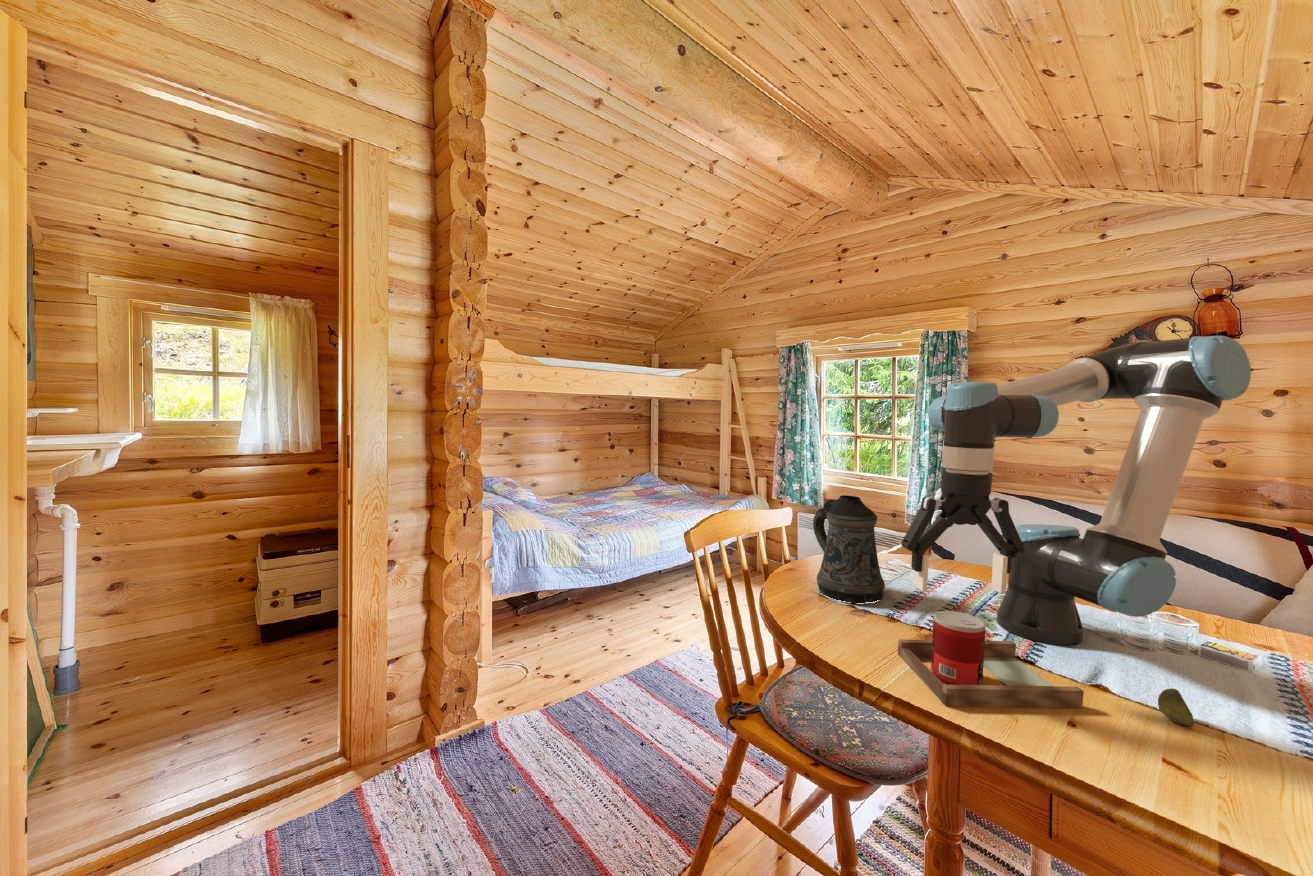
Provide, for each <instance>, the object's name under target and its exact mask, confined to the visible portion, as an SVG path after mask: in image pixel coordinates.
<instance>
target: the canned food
mask: <svg viewBox="0 0 1313 876" xmlns="http://www.w3.org/2000/svg"><path fill="white" fill-rule="evenodd" d="M932 618H933V620H932V621H933V623H932V636H931V637H932V639H931V640H932V658H931V659H930V660H931V662H930V663H931V664H930V665H931V666H930V668H931V669H930V671H931V672H932V673H933V674H934V675H935V676H936V677H937V678H938V679H939V680H940V681H941V682H942V683H943V684H944V685H982V683H983V680H984V667H983V665H984V649H985V641H986V623H985V622H984V621H983V620H982V619H980V618H979V617H976V616H974V615H972V614H968V613H965V612H960V611H955V610H940V611H936V612H934V614H933V617H932Z"/></svg>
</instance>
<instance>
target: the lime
mask: <svg viewBox="0 0 1313 876" xmlns="http://www.w3.org/2000/svg"><path fill="white" fill-rule="evenodd" d="M1157 705H1158V709H1159V711H1160V712H1161V714H1163V715H1164V717H1166V718H1168V719H1169V720H1171V721H1172V722H1175V723H1177V724H1178V723H1179V725H1181V724H1182V725H1181V726H1184V725H1186V726H1185V727H1193V726H1195V720H1194V716H1193V714H1192V712H1191V710H1190V709H1189V707H1188V704H1187V703H1186V701H1185V700H1184V698H1183V696H1182V694H1181V692H1180V691H1179V690H1178V689H1177V688H1167V689H1164V690H1162V691H1161V692H1160V694H1159V695H1158V699H1157Z"/></svg>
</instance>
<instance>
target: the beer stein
mask: <svg viewBox="0 0 1313 876" xmlns="http://www.w3.org/2000/svg"><path fill="white" fill-rule="evenodd" d="M826 520H827V522H828V530H827V533H826V529H825V521H826ZM877 521H878V516H877V515H876V513H875V512H874V511H873V510H872V509H871V508H870V507H868V506H866V505H865V504H864V502H863V501H862V500H861V498H860V497H859V496H855V495H844V494H843V495H839V497H838V498H837V499H827V500H826V501H825V502H824V503H823V508H819V509H818V510H817V511H816V512H815V515H814V517H813V521H812V528H813V533H814V535H815V539H816V541H817V543H818V545H819V547H820V548H821V549H822V551H823V556H822V561H821V563H820V564H821V565H820V568H819V571H818V572H817V575H816V583H817V587H819V588H818V591H820V592H821V593H822V594H823V595H822V594H821V593H820V592H819V593H820V594H821V595H822V596H824V595H826V596H828V597H830V598H833V599H836V600H841V601H846V602H851V603H865V602H873V601H874V602H875V601H877V600H881V599H882V598H883V597H884V590H885V587H886V584H885V581H884V579H883V577H882V574H881V569H880V564H879V558H878V551H877V544H876V535H875V526H876V524H877ZM826 596H825V597H826ZM830 598H829V599H830ZM833 599H832V600H833ZM836 600H835V601H836ZM881 601H882V600H881Z"/></svg>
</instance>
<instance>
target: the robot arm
mask: <svg viewBox="0 0 1313 876" xmlns="http://www.w3.org/2000/svg"><path fill="white" fill-rule="evenodd" d="M1251 370H1252V369H1251V362H1250V358H1249V357H1248V354H1247V352H1246V350H1245V349H1244V348H1243V345H1241V344H1240V343H1239V342H1238V341H1237V340H1235V339H1233V338H1231V337H1228V336H1226V335H1210V336H1209V335H1208V336H1202V335H1196V336H1192V337H1187V338H1186V337H1185V338H1177V339H1165V340H1155V341H1146V342H1145V341H1143V342H1132V343H1127V344H1123V345H1120V346H1116V347H1112V348H1109V349H1106V350H1103V351H1099V352H1096V353H1092V354H1089V355H1086V356H1082V357H1079V358H1075V359H1073V360H1071V361H1070V362H1068V363H1067V364H1066V365H1065V366H1063V367H1060V368H1055V369H1052V370H1047V371H1046V372H1041V373H1038V374H1034V375H1031V376H1026V377H1023V378H1020V379H1015V380H1011V381H1007V382H1004V383H1000V384H997V383H995V382H986V381H964V382H961V381H960V382H953V383H951V384H950V385H948V387H947V389H946V395H943V396H939V397H936V398H935V399H934V400H933V401H932V402H931V403H930V405H929V407H928V412H927V413H928V421H929V424H930V425H931V426H932V427H933V428H934V429H935V430H937V431H941V432H943V446H942V447H943V449H942V464H941V466H942V468H944V470H942V472H941V480H940V491H941V496H940V498H939V499H938V498H937V499H936V498H932V497H928V496H923V497H922V499H921V505H920V509H919V511H918V512H917V514H916V515H915V518H914V520H913V521H912V523H911V525H910V527H909V528H908V530H907V532H906V533H905V535H904V537H903V539H902V540H901V543H900V545H901V547H903V548H904V549H906V550H908V551H910V552H911V569H912V571H915V579H914V582H915V583H914V586H915V588H916V589H918V590H919V591H921V592H923V593H927V592H928V577H929V576H928V575H929V574H928V573H929V562H930V561H929V559H930V558H929V557H930V555H929V554H927V553H926V552H927V551H928V550H929V549H930V547H932V545H933V544H934V543H935V542H936V541H937V540H938V539H939V538H940V537H941V536H942V535H943V534H944V532H946V530H947V529H949V528H951V527H952V526H953V525H954V524H955V525H956V526H957V525H959V526H964V525H970V526H976V525H977V526H978V527H979V529H981V531H982V532H983V533H984V535H985V536H986V537H987V538H988V539H989V541H990V542H991V543H992V545H993V546H994V547H995V549H997V551H998V552H996V551H995V552H992V568H991V569H992V570H991V585H990V589H992V590H994V591H996V592H998V593H999V594H1002V595H1003V594H1004V596H1003V598H1002V601H1001V602H1000V606H998V609H997V610H996V623H997V624H998V625H999V626H1000V627H1001V628H1003V629H1005V630H1006V631H1008V632H1010V633H1012V634H1014V635H1016V636H1019V637H1022V638H1025V639H1027V640H1032V641H1035V642H1040V643H1044V644H1049V645H1050V644H1051V645H1060V646H1073V645H1079V644H1080V643H1082V642H1083V641H1084V627H1083V624H1082V620H1081V617H1080V614H1079V610H1078V607H1077V604H1076V598H1078V599H1080V600H1083V601H1086V602H1088V603H1091V604H1094V605H1096V606H1099V607H1101V608H1103V609H1105V610H1107V611H1110V612H1115V613H1116V612H1117V613H1119V614H1123V615H1125V616H1129V617H1134V618H1135V617H1136V618H1137V617H1138V618H1139V617H1146V616H1149V615H1152V614H1153V613H1155V612H1158V611H1159V610H1161V609H1162V608H1163V607H1164V606H1165V605H1166V604H1167V603H1168V602H1169V600H1170V598H1172V596H1173V593H1174V592H1175V588H1176V585H1177V578H1176V577H1175V576H1176V570H1175V568H1174V567H1173V565H1172V564H1171V563H1170V562H1168V561H1167V560H1166V557H1167V554H1168V551H1167V550H1166V548H1165V547H1164V545H1163V544H1162V543H1161V540H1160V539H1161V538H1162V535H1163V534H1162V533H1163V531H1164V528H1165V526H1166V523H1167V520H1168V517H1169V515H1170V512H1171V509H1172V506H1173V505H1174V501H1175V499H1176V496H1177V492H1178V490H1179V487H1180V485H1181V482H1182V479H1183V477H1184V473H1185V471H1186V469H1187V466H1188V463H1189V460H1190V457H1191V454H1192V451H1193V449H1194V446H1195V443H1196V441H1197V438H1198V435H1199V433H1200V429H1201V428H1202V424H1203V421H1205V420H1206V419H1209V418H1211V417H1213V416H1215V415H1217V414H1219V412H1220V409H1221V407H1222V404H1223V402H1224V401H1231V400H1233V399H1238V398H1239V397H1241V395H1244V393H1246V391H1247V390H1248V388H1249V386H1250V382H1251V378H1252V377H1251V376H1252V371H1251ZM1108 399H1109V400H1110V399H1111V400H1117V399H1122V400H1123V399H1126V400H1133V402H1134V403H1135V404H1136V406H1137V407H1138V409H1140V412H1139V415H1138V418H1137V421H1136V423H1135V425H1134V429H1133V431H1132V434H1131V437H1130V439H1129V441H1128V445H1127V448H1126V450H1125V453H1124V456H1123V459H1122V460H1121V464H1120V466H1119V469H1118V473H1117V475H1116V478H1115V481H1114V484H1113V486H1112V489H1111V492H1110V494H1109V496H1108V500H1107V503H1106V506H1105V508H1104V511H1103V513H1102V516H1101V519H1100V521H1099V523H1098V524H1096V525H1093V526H1091V527H1090V526H1089V527H1088V528H1086V531H1085V534H1084V535H1083V538H1080V536H1081V533H1080V530H1079V529H1078V528H1076V527H1074V526H1068V525H1061V524H1060V525H1059V524H1044V523H1042V524H1039V523H1037V524H1036V523H1035V524H1033V523H1030V524H1028V523H1027V524H1019V525H1015V523H1014V521H1013V518H1012V517H1011V513H1010V506H1009V505H1010V503H1009V501H1008V500H1006V499H1003V498H1002V499H1001V498H999V497H994V498H993V499H990V496H991V494H992V483H993V476H992V474H991V473H989V472H992V471H993V470H994V451H995V450H994V449H995V448H994V447H995V442H996V441H995V440H996V439H995V438H1025V439H1026V438H1027V439H1032V438H1040V437H1045V436H1048V435H1049V434H1051V432H1053V431H1054V429H1056V427H1057V425H1058V422H1059V416H1060V412H1059V409H1058V407H1060V406H1064V405H1066V404H1072V403H1074V402H1077V401H1078V402H1083V403H1090V402H1091V403H1092V402H1094V401H1098V400H1108ZM939 508H940V510H941V511H940V512H939V513H938V514H937V515H936V517H935V519H934V521H933V522H932V523H931V524H930V525H929V523H930V522H931V520H932V518H933V516H934V514H935V512H936V511H938V509H939ZM990 510H991V511H992V512H993V514H994V516H995V517H994V518H995V520H996V521H997V525H998V526H999V528H1000V531H1001V533H1002V535H1003V536H1002V535H1001V533H1000V531H999V530H998V529H997V528H996V527H995V526H994V524H993V521H992V520H991V519H990V518H989V516H988V515H987V513H988V512H989V511H990ZM928 525H929V526H928ZM1007 575H1008V579H1007ZM1007 580H1008V581H1007ZM1007 582H1008V583H1007ZM1075 597H1076V598H1075Z"/></svg>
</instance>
